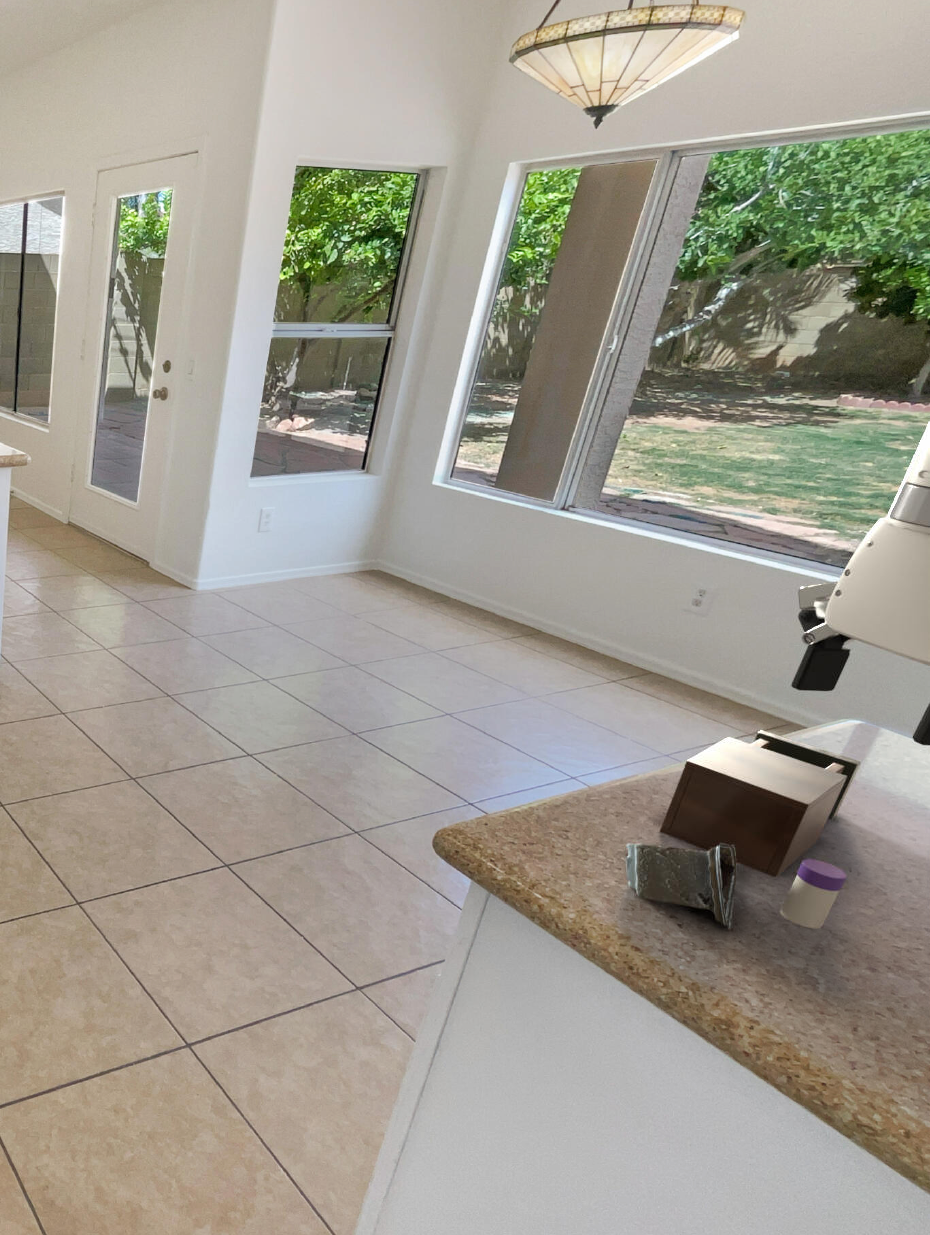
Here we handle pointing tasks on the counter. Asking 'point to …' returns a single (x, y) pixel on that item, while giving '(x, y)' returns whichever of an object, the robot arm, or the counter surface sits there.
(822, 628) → the robot arm
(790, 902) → the glue stick
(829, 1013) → the counter surface
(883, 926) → the counter surface
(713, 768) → the cabinet
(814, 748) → the drawer
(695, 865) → the squashed foil tin
